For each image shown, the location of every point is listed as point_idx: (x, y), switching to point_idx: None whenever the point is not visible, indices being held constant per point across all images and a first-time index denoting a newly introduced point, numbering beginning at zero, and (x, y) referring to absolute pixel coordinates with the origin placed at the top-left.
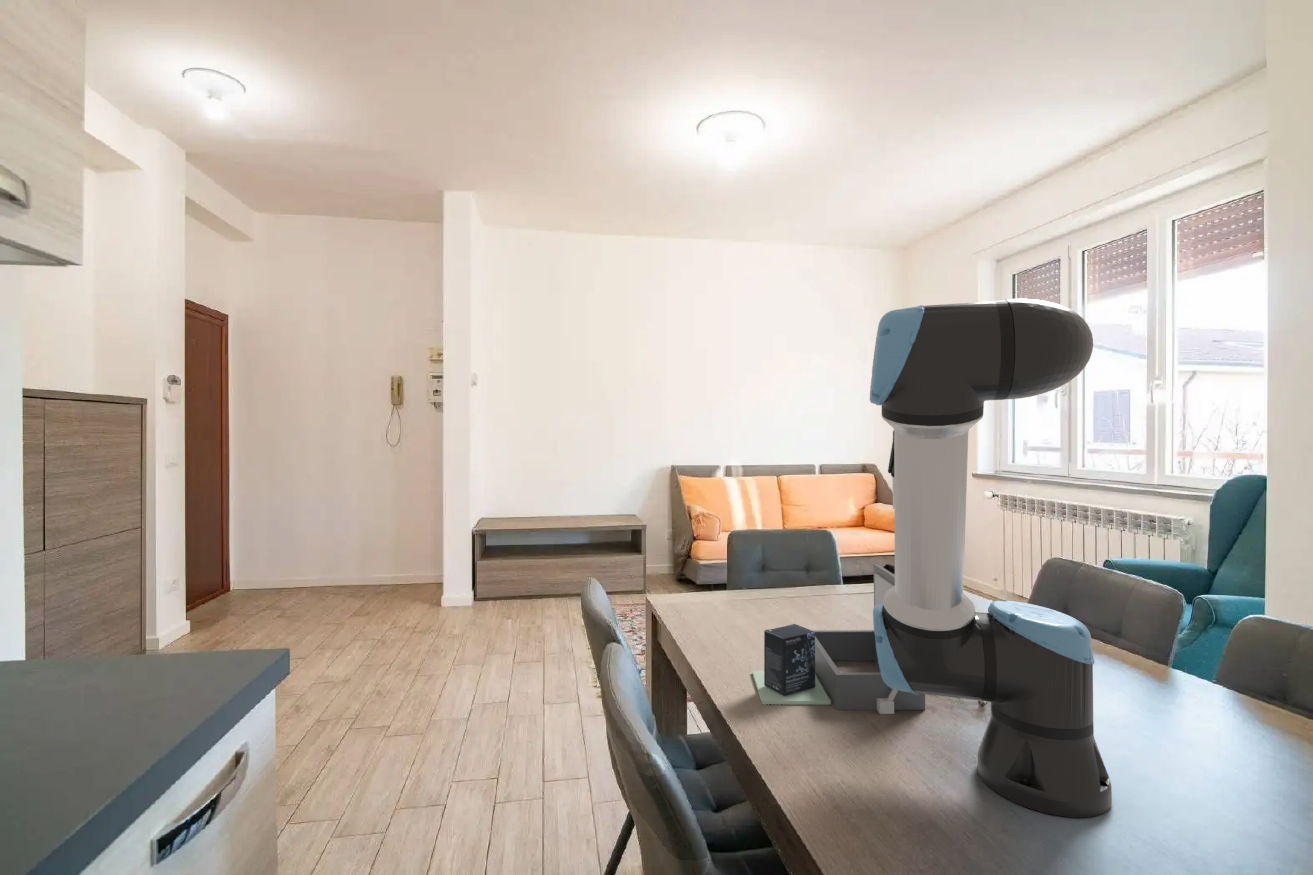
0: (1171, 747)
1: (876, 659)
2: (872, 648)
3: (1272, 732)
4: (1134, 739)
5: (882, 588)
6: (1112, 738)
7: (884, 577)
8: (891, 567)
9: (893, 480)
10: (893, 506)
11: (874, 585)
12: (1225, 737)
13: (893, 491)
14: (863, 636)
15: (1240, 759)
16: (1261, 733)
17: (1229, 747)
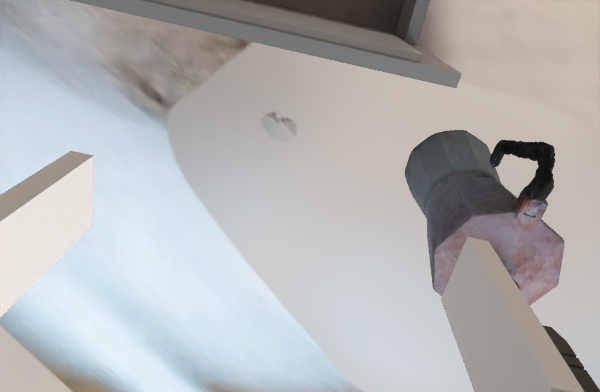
0: None
1: (389, 32)
2: (401, 29)
3: (71, 367)
4: None
5: (340, 32)
6: None
7: (338, 42)
8: (533, 192)
9: (547, 368)
10: (482, 245)
11: (435, 60)
12: (59, 317)
13: (513, 304)
14: (412, 8)
15: None
16: (69, 356)
17: (35, 299)
